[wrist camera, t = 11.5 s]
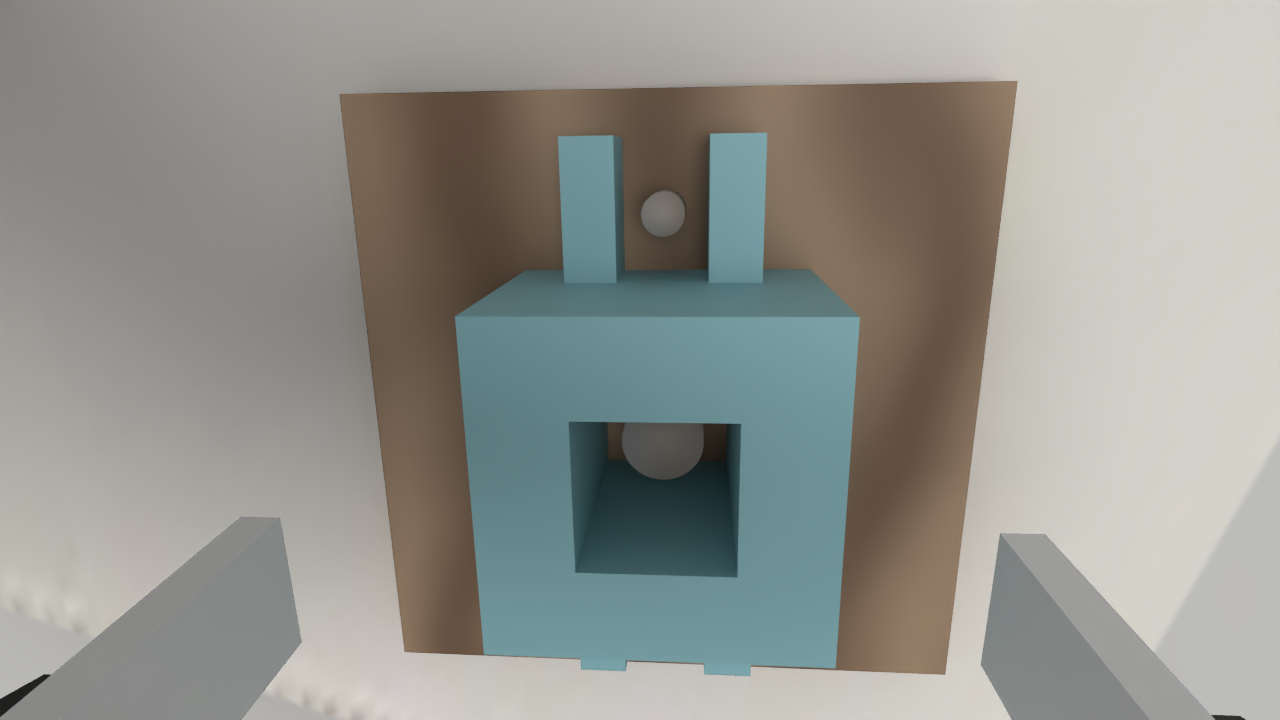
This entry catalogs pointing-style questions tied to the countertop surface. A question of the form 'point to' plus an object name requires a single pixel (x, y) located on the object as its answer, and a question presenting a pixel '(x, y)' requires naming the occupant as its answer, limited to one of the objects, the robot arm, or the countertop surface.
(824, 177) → the plate
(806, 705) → the countertop surface
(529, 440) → the flange block
